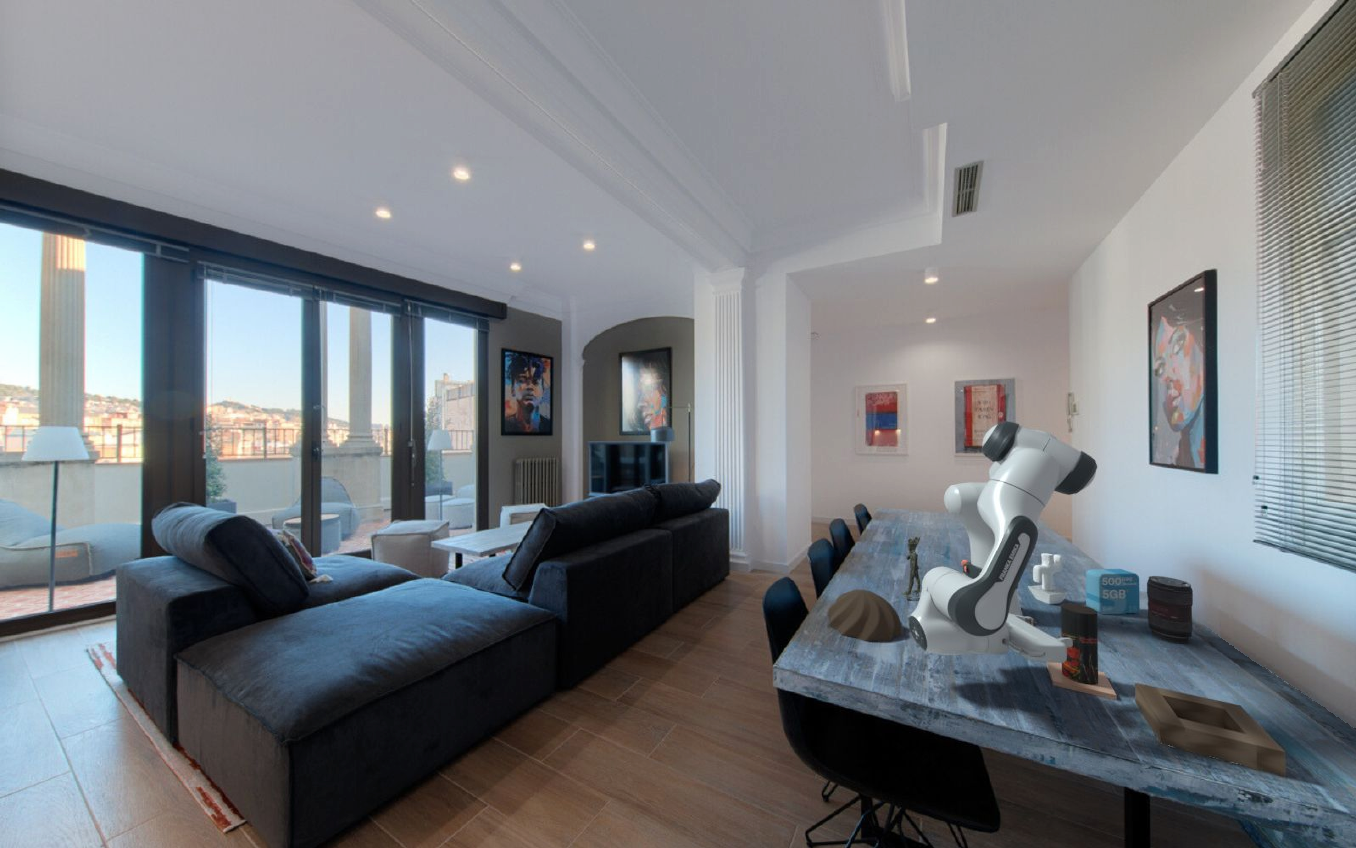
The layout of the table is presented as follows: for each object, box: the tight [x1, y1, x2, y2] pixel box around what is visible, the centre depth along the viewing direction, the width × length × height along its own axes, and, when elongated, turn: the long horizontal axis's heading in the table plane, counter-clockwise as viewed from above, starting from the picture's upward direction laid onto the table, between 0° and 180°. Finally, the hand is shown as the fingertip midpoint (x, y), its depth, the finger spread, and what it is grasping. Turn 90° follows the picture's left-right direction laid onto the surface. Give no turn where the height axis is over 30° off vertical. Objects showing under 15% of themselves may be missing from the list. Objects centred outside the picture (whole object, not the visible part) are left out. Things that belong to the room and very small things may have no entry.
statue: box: [901, 536, 921, 601], centre depth 146 cm, size 5×6×20 cm
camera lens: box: [1146, 575, 1194, 644], centre depth 117 cm, size 8×8×15 cm
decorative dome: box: [827, 589, 903, 642], centre depth 127 cm, size 19×20×10 cm
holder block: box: [1134, 682, 1287, 778], centre depth 81 cm, size 14×14×4 cm
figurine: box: [1027, 552, 1070, 605], centre depth 142 cm, size 7×9×15 cm
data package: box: [1085, 568, 1141, 615], centre depth 134 cm, size 12×4×12 cm, turn 90°
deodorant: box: [1060, 602, 1099, 685], centre depth 98 cm, size 6×6×15 cm
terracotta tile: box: [1045, 662, 1118, 701], centre depth 98 cm, size 10×10×1 cm
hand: (1050, 631), depth 98 cm, fingers open, 8 cm apart
